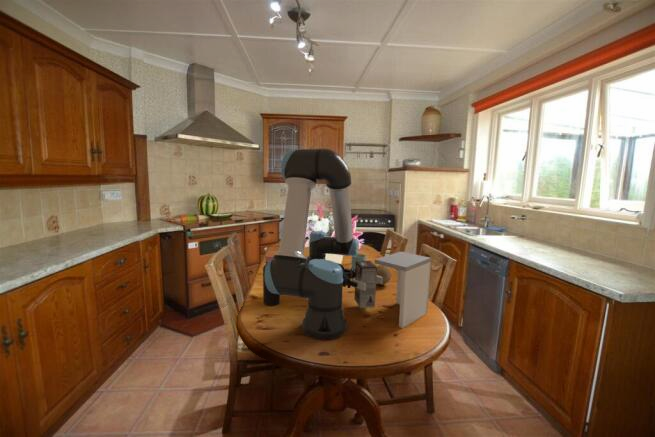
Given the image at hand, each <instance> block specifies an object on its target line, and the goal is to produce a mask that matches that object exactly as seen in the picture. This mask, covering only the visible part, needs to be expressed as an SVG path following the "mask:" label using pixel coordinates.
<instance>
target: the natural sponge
mask: <svg viewBox="0 0 655 437" xmlns="http://www.w3.org/2000/svg"><path fill="white" fill-rule="evenodd" d="M376 267H377V276H380V277H383V284H379V283H377V284H378V285H380V286H384V285H386V284H387V283H389V282H390V281H391V279H392V277H393V275H392V271H391V269H390V267H387V266H383V265H379V264H378V265H377V266H376Z"/></svg>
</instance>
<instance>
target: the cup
mask: <svg viewBox="0 0 655 437" xmlns="http://www.w3.org/2000/svg"><path fill="white" fill-rule="evenodd" d="M356 261H367V255H366V254H362V253H357V255H356V256H351V268H354V269H355V268H356Z"/></svg>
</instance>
